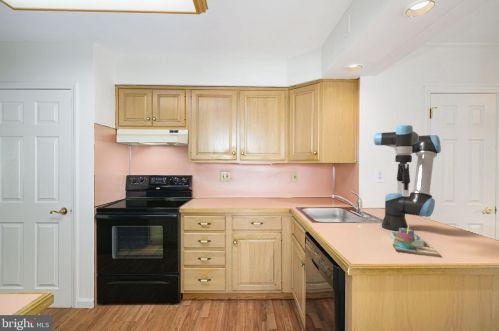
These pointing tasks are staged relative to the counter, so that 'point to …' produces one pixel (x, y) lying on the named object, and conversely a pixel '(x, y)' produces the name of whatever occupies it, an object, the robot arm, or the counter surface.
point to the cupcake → (405, 239)
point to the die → (404, 230)
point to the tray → (417, 243)
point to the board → (417, 250)
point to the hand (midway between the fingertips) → (402, 194)
